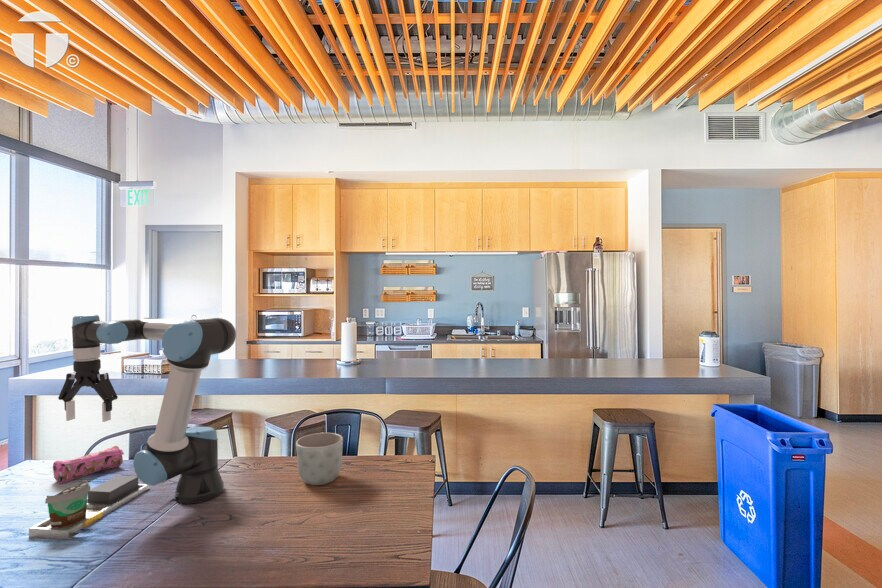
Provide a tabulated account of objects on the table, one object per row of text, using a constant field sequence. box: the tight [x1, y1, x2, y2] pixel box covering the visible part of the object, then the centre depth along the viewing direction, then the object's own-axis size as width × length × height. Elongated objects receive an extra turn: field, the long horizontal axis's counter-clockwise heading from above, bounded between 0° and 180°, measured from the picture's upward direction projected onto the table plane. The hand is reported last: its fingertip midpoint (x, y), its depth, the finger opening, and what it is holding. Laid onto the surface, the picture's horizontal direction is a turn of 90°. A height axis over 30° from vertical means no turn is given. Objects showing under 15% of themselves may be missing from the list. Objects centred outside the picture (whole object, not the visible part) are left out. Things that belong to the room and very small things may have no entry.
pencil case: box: [52, 445, 125, 485], centre depth 179 cm, size 21×9×9 cm, turn 144°
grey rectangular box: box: [87, 475, 139, 504], centre depth 157 cm, size 8×12×5 cm, turn 173°
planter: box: [295, 432, 344, 486], centre depth 171 cm, size 17×17×15 cm
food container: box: [44, 479, 91, 527], centre depth 142 cm, size 12×6×10 cm, turn 170°
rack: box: [28, 483, 150, 540], centre depth 149 cm, size 14×31×3 cm, turn 173°
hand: (88, 420), depth 160 cm, fingers open, 13 cm apart
